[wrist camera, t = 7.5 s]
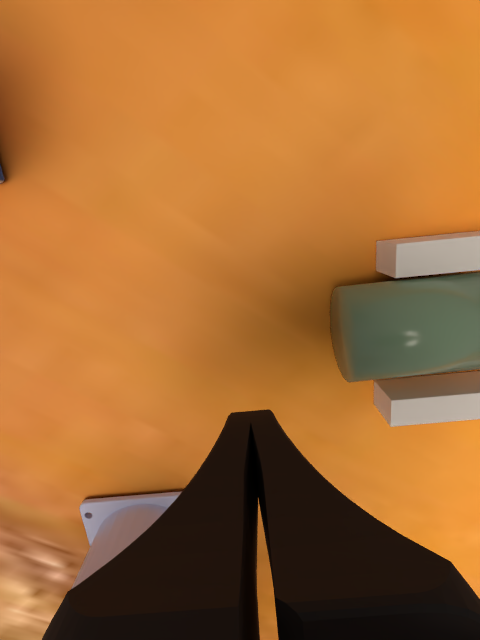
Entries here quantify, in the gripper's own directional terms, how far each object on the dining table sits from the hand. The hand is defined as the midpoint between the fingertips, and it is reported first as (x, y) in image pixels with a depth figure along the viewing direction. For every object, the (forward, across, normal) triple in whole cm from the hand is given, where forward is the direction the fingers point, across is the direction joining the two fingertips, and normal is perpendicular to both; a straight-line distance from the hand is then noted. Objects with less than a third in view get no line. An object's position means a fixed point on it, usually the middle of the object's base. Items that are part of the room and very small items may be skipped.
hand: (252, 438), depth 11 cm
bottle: (+7, -5, -1) cm, 8 cm away
